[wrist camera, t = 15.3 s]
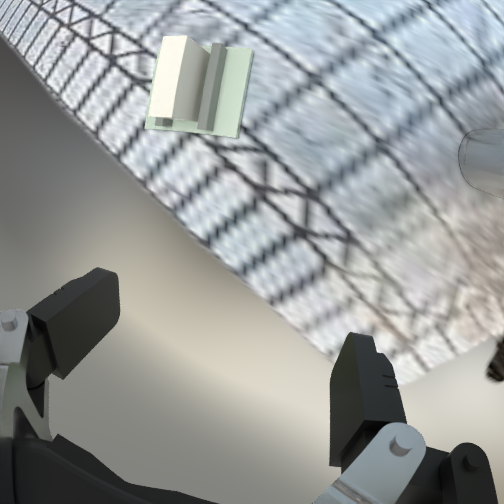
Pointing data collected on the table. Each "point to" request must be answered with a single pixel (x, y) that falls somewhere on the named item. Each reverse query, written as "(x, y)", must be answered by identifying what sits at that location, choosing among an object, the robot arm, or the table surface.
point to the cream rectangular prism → (179, 79)
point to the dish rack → (215, 94)
